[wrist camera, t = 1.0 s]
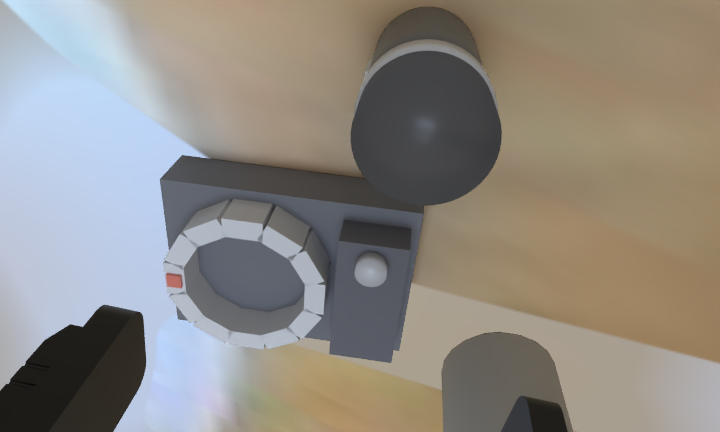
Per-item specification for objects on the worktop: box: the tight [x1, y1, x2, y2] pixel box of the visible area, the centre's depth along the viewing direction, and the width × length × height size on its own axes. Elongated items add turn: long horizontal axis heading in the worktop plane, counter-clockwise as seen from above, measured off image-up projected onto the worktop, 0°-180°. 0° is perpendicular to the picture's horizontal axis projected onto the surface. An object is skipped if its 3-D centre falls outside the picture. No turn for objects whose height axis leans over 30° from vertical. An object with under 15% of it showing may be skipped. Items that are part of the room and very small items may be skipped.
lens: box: [351, 7, 502, 205], centre depth 22 cm, size 5×5×10 cm
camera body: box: [160, 155, 424, 363], centre depth 30 cm, size 14×10×6 cm
